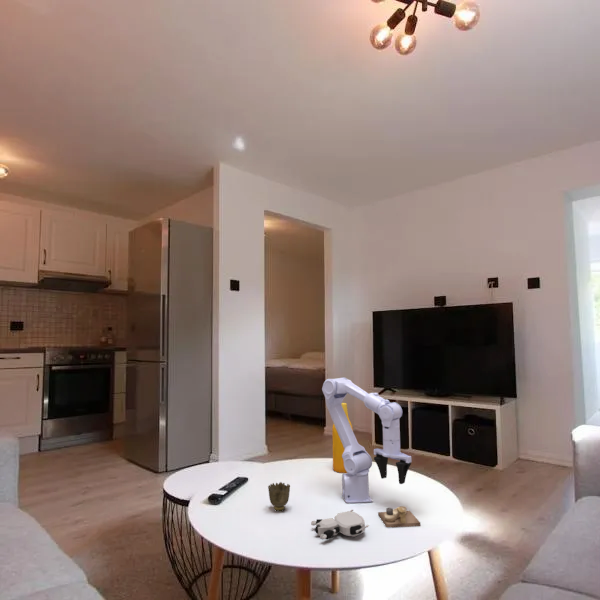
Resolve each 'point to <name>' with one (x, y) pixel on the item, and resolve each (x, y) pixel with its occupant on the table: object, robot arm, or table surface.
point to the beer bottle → (339, 446)
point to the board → (402, 521)
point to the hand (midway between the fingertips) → (392, 480)
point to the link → (394, 514)
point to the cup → (279, 495)
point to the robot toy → (340, 525)
